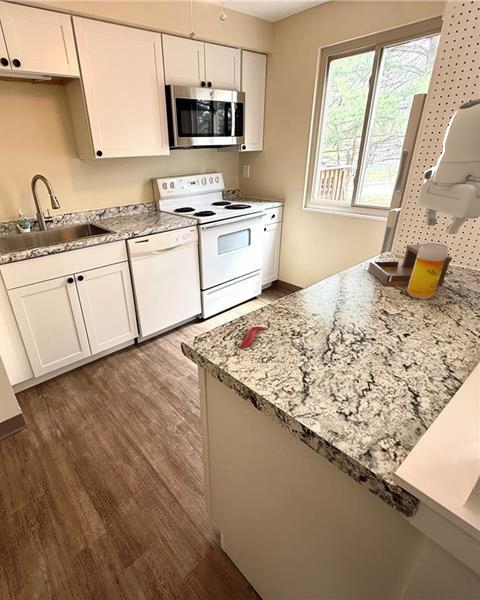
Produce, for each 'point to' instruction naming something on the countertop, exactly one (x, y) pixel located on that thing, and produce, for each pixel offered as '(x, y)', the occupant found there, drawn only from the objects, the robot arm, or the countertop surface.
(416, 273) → the beer can
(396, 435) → the countertop surface
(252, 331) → the cayenne pepper
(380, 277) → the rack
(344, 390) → the countertop surface
